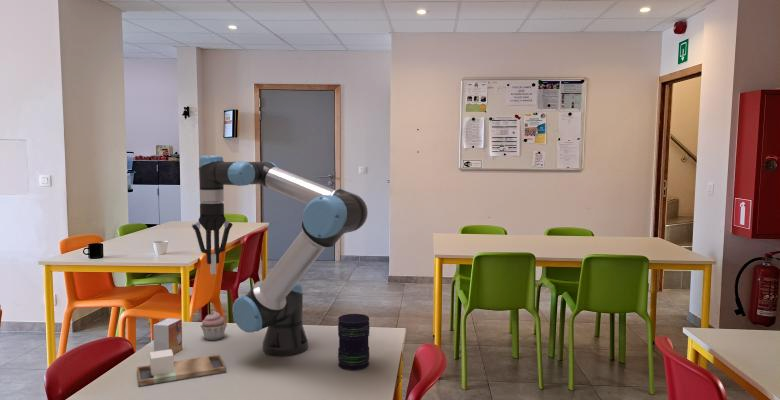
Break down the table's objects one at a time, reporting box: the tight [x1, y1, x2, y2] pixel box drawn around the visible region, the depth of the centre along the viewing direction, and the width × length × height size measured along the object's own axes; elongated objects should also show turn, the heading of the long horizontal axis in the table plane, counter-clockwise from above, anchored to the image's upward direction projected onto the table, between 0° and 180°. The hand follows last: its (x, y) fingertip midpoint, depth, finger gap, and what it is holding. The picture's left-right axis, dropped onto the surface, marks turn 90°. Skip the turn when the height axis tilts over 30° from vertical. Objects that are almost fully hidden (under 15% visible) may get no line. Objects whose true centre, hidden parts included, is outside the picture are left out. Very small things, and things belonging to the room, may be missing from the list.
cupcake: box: [199, 310, 228, 341], centre depth 197 cm, size 9×9×10 cm
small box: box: [152, 317, 183, 355], centre depth 181 cm, size 8×6×10 cm
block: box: [149, 349, 174, 375], centre depth 162 cm, size 6×6×5 cm
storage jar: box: [337, 313, 370, 372], centre depth 171 cm, size 10×10×15 cm
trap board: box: [136, 354, 227, 388], centre depth 165 cm, size 24×12×2 cm, turn 117°
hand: (213, 273), depth 182 cm, fingers closed
